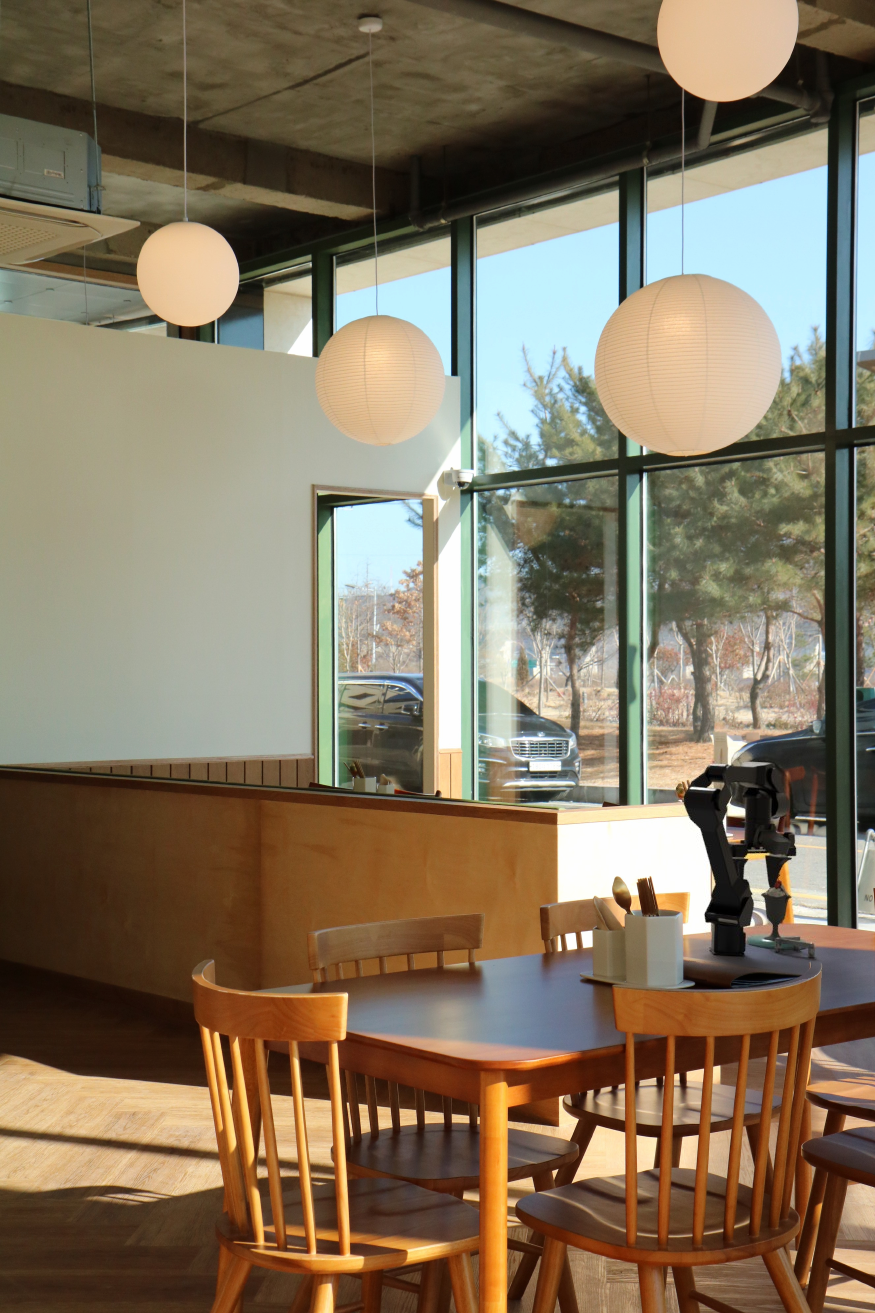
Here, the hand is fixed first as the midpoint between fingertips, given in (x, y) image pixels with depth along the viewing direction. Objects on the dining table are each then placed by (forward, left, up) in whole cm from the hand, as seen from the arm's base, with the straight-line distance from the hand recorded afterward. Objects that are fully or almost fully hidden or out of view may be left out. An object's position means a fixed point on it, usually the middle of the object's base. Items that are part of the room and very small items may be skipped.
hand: (756, 888), depth 296 cm
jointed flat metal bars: (+7, -7, -13) cm, 16 cm away
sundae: (+6, +5, -12) cm, 14 cm away
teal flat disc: (+6, +5, -13) cm, 15 cm away
